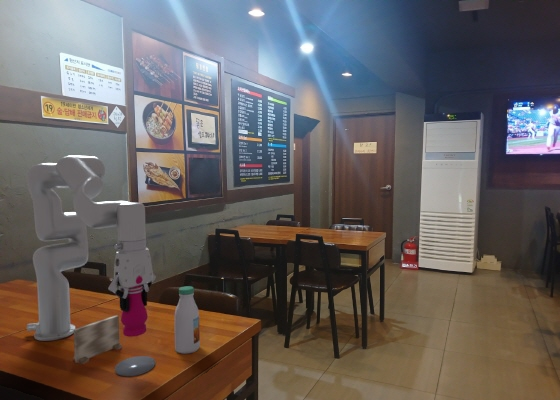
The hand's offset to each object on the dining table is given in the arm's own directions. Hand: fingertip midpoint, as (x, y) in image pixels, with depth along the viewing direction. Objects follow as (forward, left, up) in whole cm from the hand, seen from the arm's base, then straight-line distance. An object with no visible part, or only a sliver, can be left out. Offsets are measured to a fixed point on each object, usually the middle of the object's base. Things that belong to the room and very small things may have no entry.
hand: (134, 307), depth 112 cm
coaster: (0, 0, -18) cm, 18 cm away
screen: (-13, +11, -18) cm, 25 cm away
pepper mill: (0, 0, -8) cm, 8 cm away
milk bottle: (+14, +9, -18) cm, 25 cm away
